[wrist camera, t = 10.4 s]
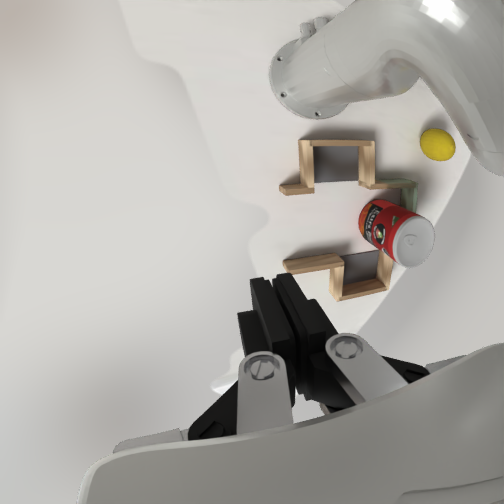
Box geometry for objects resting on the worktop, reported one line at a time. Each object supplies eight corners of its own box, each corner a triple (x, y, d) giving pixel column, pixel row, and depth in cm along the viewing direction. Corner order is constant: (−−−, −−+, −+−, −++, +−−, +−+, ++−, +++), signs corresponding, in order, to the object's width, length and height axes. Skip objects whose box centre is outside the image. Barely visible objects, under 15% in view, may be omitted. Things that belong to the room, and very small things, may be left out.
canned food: (359, 197, 42) (400, 216, 32) (397, 199, 43) (439, 217, 33) (353, 242, 45) (390, 271, 35) (390, 241, 46) (429, 266, 36)
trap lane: (276, 141, 37) (282, 141, 33) (405, 142, 39) (418, 144, 36) (283, 299, 47) (289, 310, 44) (395, 277, 49) (405, 285, 46)
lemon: (436, 146, 40) (467, 151, 33) (420, 163, 41) (451, 171, 34) (423, 121, 38) (455, 123, 31) (406, 138, 39) (438, 142, 32)
